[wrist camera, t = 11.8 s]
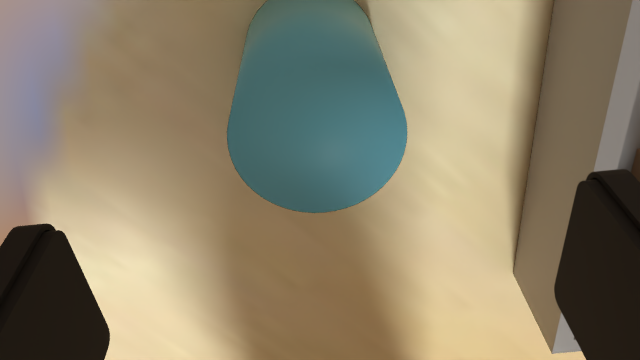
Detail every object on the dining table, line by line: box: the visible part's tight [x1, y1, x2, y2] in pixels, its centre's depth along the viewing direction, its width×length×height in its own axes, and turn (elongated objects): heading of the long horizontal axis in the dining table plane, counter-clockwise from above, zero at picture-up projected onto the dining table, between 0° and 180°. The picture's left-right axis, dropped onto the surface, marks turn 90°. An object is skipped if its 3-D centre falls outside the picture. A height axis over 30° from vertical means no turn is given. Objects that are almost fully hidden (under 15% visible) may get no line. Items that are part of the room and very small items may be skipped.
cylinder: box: [227, 0, 407, 213], centre depth 18 cm, size 5×5×7 cm
